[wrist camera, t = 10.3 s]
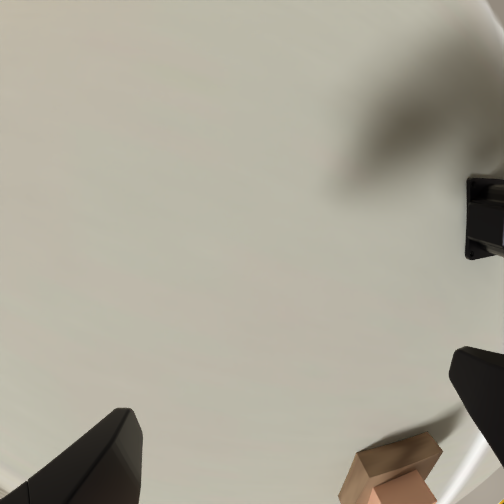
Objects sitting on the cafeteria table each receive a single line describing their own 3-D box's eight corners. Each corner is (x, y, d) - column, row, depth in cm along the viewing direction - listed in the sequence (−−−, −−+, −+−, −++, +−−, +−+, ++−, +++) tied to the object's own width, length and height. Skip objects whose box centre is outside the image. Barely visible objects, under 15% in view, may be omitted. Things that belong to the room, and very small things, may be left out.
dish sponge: (492, 511, 54) (494, 514, 51) (499, 502, 50) (501, 505, 48) (504, 501, 54) (506, 504, 52) (511, 491, 51) (514, 494, 48)
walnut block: (425, 429, 25) (443, 451, 21) (401, 475, 27) (413, 495, 23) (355, 450, 24) (369, 477, 20) (337, 494, 26) (346, 518, 22)
